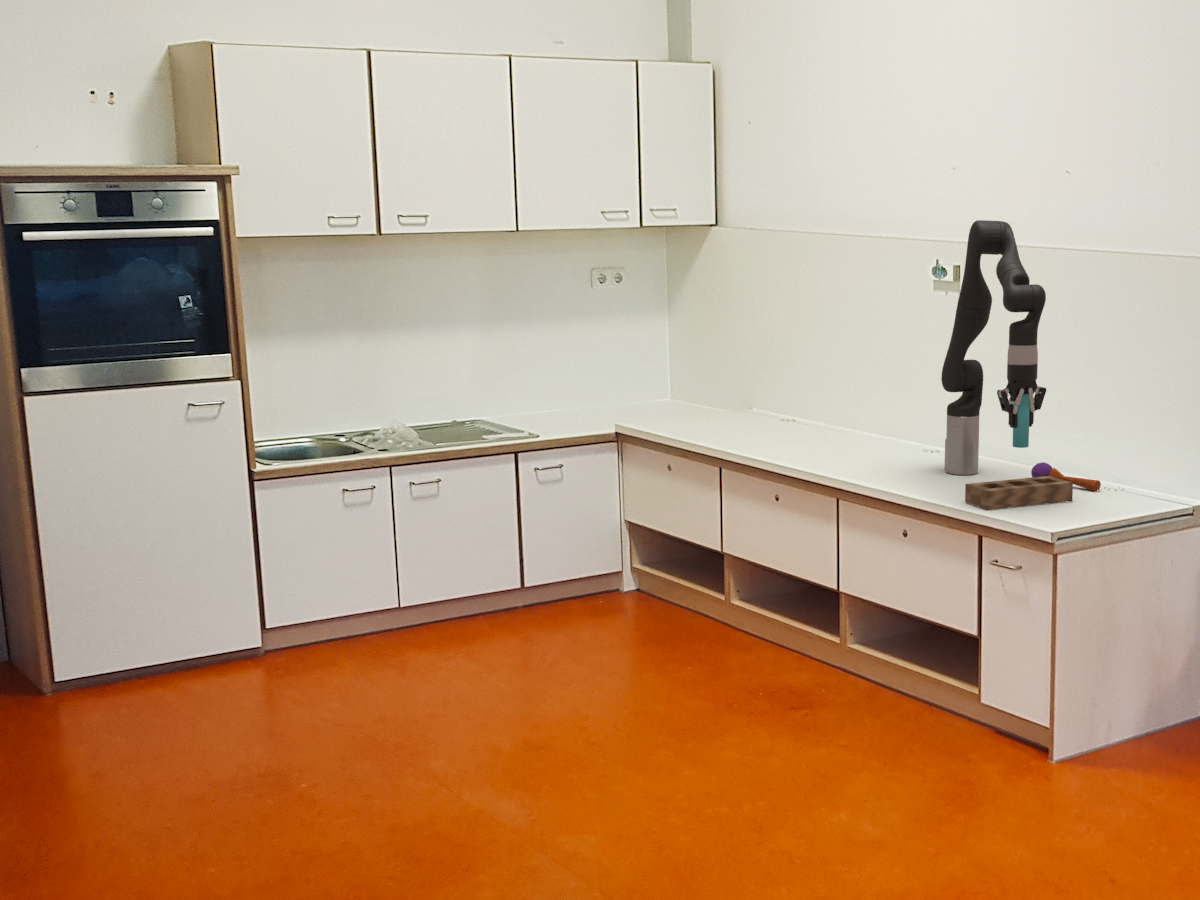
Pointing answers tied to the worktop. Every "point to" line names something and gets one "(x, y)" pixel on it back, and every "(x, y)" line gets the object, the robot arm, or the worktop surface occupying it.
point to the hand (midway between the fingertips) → (1020, 426)
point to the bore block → (1018, 492)
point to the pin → (1022, 423)
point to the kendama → (1047, 470)
